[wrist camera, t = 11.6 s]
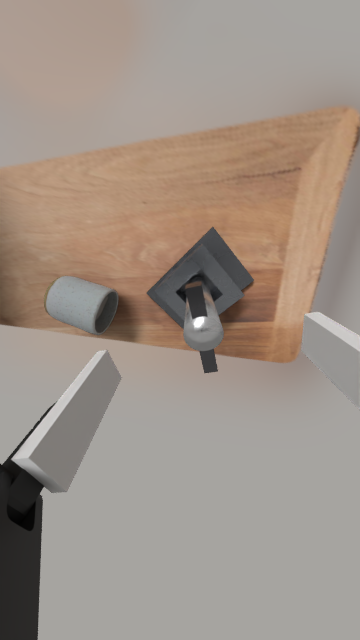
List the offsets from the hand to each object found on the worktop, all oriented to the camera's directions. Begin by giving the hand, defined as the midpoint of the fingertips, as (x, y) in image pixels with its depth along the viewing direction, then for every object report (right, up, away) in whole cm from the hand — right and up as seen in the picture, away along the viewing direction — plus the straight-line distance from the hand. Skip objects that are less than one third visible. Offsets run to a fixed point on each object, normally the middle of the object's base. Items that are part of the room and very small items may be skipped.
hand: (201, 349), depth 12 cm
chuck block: (+2, +8, +16) cm, 18 cm away
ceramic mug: (-16, +5, +19) cm, 26 cm away
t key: (+1, +7, +16) cm, 17 cm away
